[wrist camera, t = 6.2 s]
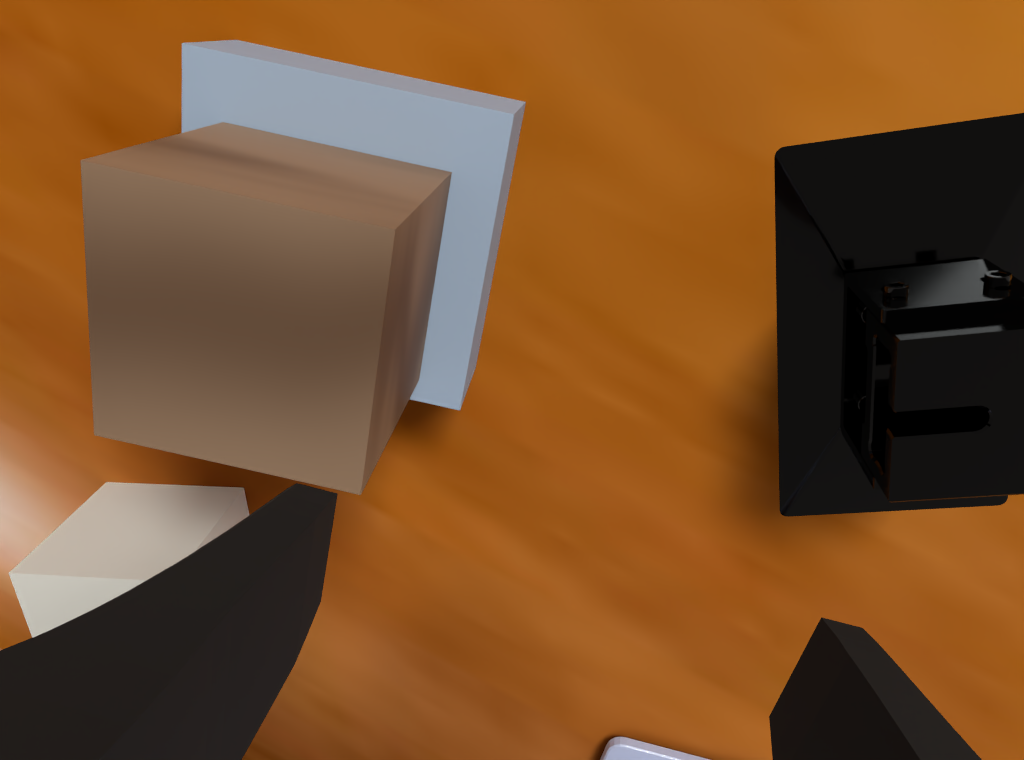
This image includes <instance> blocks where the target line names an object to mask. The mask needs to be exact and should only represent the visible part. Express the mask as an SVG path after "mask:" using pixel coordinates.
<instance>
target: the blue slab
mask: <svg viewBox="0 0 1024 760" xmlns="http://www.w3.org/2000/svg"><path fill="white" fill-rule="evenodd" d="M525 103H526V102H523V101H519V100H514V99H509V98H505V97H500V96H495V95H491V94H486V93H481V92H477V91H472V90H467V89H463V88H458V87H453V86H449V85H444V84H439V83H435V82H430V81H425V80H421V79H416V78H411V77H407V76H402V75H397V74H393V73H388V72H384V71H379V70H374V69H370V68H365V67H360V66H356V65H351V64H346V63H342V62H337V61H332V60H328V59H323V58H318V57H314V56H309V55H304V54H300V53H295V52H290V51H286V50H281V49H276V48H272V47H267V46H262V45H258V44H253V43H248V42H244V41H239V40H227V41H209V42H192V43H182V133H184V132H188V131H192V130H195V129H199V128H203V127H206V126H210V125H214V124H218V123H221V122H225V123H230V124H234V125H239V126H244V127H248V128H253V129H257V130H262V131H266V132H271V133H275V134H280V135H285V136H289V137H294V138H298V139H303V140H307V141H312V142H317V143H321V144H326V145H330V146H335V147H339V148H344V149H348V150H353V151H358V152H362V153H367V154H371V155H376V156H380V157H385V158H389V159H394V160H399V161H403V162H408V163H412V164H417V165H421V166H426V167H430V168H435V169H440V170H444V171H449V172H452V175H451V181H450V188H449V194H448V200H447V207H446V213H445V219H444V226H443V232H442V238H441V245H440V251H439V257H438V264H437V270H436V276H435V283H434V289H433V295H432V302H431V308H430V314H429V321H428V327H427V333H426V340H425V346H424V352H423V359H422V365H421V371H420V378H419V381H418V383H417V385H416V387H415V389H414V391H413V393H412V395H411V397H410V400H415V401H420V402H424V403H429V404H433V405H438V406H442V407H447V408H451V409H456V410H460V409H461V406H462V403H463V401H464V398H465V395H466V392H467V390H468V387H469V384H470V382H471V379H472V376H473V373H474V371H475V368H476V363H477V358H478V353H479V347H480V342H481V337H482V332H483V326H484V321H485V316H486V310H487V305H488V300H489V294H490V289H491V284H492V278H493V273H494V268H495V263H496V257H497V252H498V247H499V241H500V236H501V231H502V225H503V220H504V215H505V209H506V204H507V199H508V194H509V188H510V183H511V178H512V172H513V167H514V162H515V156H516V151H517V146H518V140H519V135H520V130H521V125H522V119H523V114H524V109H525Z"/></svg>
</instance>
